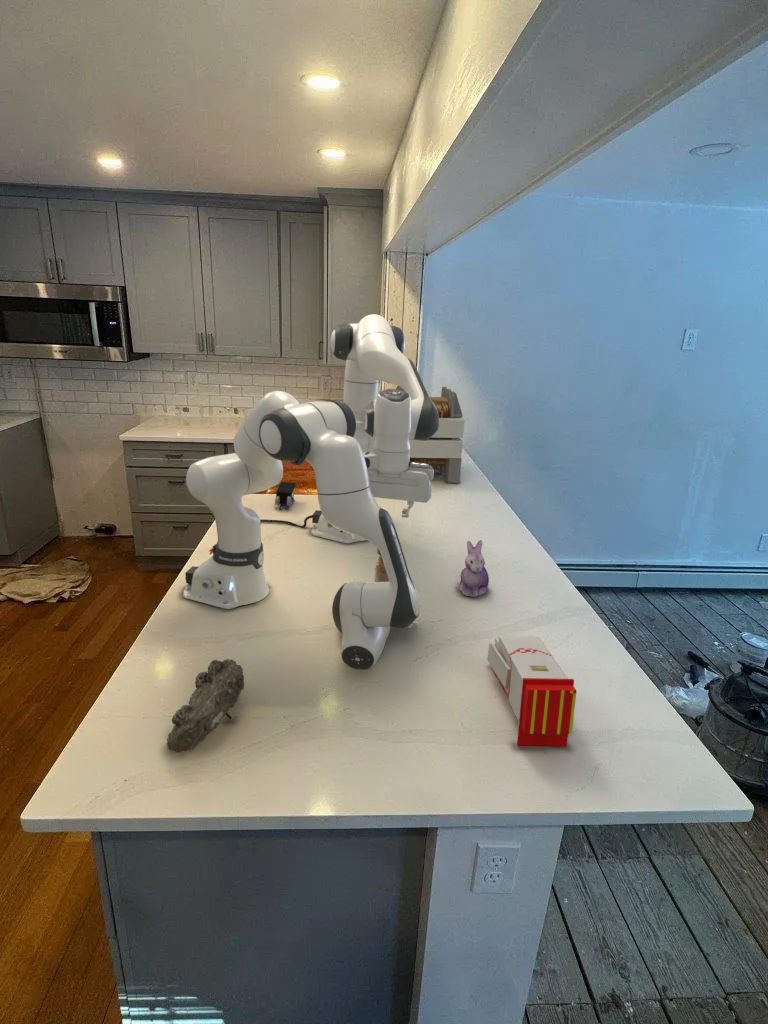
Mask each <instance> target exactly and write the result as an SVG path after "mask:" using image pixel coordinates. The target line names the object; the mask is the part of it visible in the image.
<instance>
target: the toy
mask: <svg viewBox="0 0 768 1024" xmlns="http://www.w3.org/2000/svg"><path fill="white" fill-rule="evenodd" d="M488 643H489V644H488V651H487V658H486V659H487V662H488V664H489V666H490V668H491V669H492V672H493V674H494V675H495V677H496V679H497V681H498V682H499V684H500V687H501V688H502V691H503V692H504V694H505V697H507V699H508V702H509V705H510V706H511V709H512V710H513V713H514V714H515V717H516V720H517V721H518V728H517V729H518V730H517V741H516V746H517V747H520V748H521V747H522V748H523V747H525V748H527V747H529V748H531V747H532V748H533V747H534V748H545V747H546V748H567V747H568V740H569V735H572V733H573V725H574V716H575V708H576V700H577V689H576V687H575V686H574V685H575V679H574V678H569V677H568V676H567V675H566V673H565V672H564V670H563V669H562V668H561V667H560V665H559V663H558V662H557V661H556V659H555V658H554V656H553V654H552V653H551V652H550V650H549V649H548V648H547V646H546V644H545V642H544V641H543V640H542V639H541V638H540V636H534V635H533V636H532V635H530V636H527V635H526V636H525V635H524V636H523V635H498V637H497V636H496V637H494V643H493V641H489V642H488Z"/></svg>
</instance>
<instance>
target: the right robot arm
mask: <svg viewBox="0 0 768 1024" xmlns="http://www.w3.org/2000/svg"><path fill="white" fill-rule="evenodd" d="M332 330H333V331H332V332H331V335H330V338H329V339H330V340H329V342H330V348H331V352H332V355H333V356H334V358H336V359H338V360H341V361H346V362H345V367H344V375H343V377H344V378H343V396H342V398H343V399H342V402H343V403H345V404H347V405H348V406H349V407H350V408H351V410H352V412H353V414H354V416H355V420H356V431H355V434H354V437H353V438H355V439H356V440H357V441H358V442H359V444H360V446H361V449H362V452H363V455H364V458H365V462H366V466H367V470H368V475H369V481H370V488H371V492H372V495H373V497H374V498H378V499H387V500H396V501H397V500H398V501H406V502H407V503H406V505H407V508H403V509H402V511H401V518H406V519H409V517H410V511H411V509H412V507H413V506H414V504H415V503H422V504H423V503H424V504H427V503H428V502H429V501H430V500H431V499H432V491H433V489H432V482H433V480H434V479H435V477H434V476H435V470H434V468H433V466H432V465H430V466H429V465H428V464H426V463H423V464H421V463H415V462H410V443H409V439H414V440H422V441H426V440H428V439H429V438H431V437H432V436H433V435H434V434H435V433H436V432H437V430H438V427H439V415H438V410H437V408H436V406H435V404H434V403H433V402H432V400H431V399H430V397H431V396H430V395H429V393H428V391H427V389H426V387H425V385H424V382H423V380H422V377H421V376H420V373H419V371H418V369H417V367H416V364H415V363H414V362H413V360H412V359H410V358H409V357H407V356H405V355H404V351H405V348H406V338H405V333H404V331H403V330H402V328H401V327H399V326H395V325H391V324H390V323H389V322H388V320H387V319H386V318H385V317H384V316H382V315H380V314H376V313H375V314H373V313H371V314H368V315H366V316H364V317H362V318H361V319H360V320H359V322H358V323H357V322H356V323H348V322H343V323H338V324H336V326H334V328H333V329H332ZM380 382H385V383H390V384H393V385H396V386H400V387H401V388H403V389H404V390H405V391H401V390H398V389H396V388H386V389H383V390H379V388H380V387H379V385H380ZM212 518H214V515H212ZM310 519H312V521H311V522H312V524H314V525H313V526H312V528H311V530H310V533H311V536H315V537H319V538H323V539H326V540H330V541H336V542H339V543H343V544H352V543H357V542H365V541H368V540H367V539H364V538H362V537H359V536H356V535H353V534H350V533H346V532H343V531H341V530H339V529H337V528H335V527H333V526H332V525H331V524H329V523H328V522H327V521H326V519H325V518H324V517H323V515H322V512H321V510H317V509H316V510H315V511H314V512H313V513H312V514H311V515H308V516H306V517H305V518H304V520H303V524H302V525H298V524H297V523H294V522H292V521H288V520H282V519H260V521H261V523H277V524H279V523H281V524H287V525H290V526H293V527H297V528H301V529H304V528H306V527H307V526H308V525H307V523H308V520H310Z"/></svg>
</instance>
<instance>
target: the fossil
mask: <svg viewBox="0 0 768 1024" xmlns="http://www.w3.org/2000/svg"><path fill="white" fill-rule="evenodd" d="M243 670H244V669H243V667H242V665H240V664H237V662H236V661H235V660H234V659H232V658H231V659H227V658H226V659H224V660H223V661H222V660H217V659H212V660H211V661H210V663H209V665H208V666H207V671H201V672H199V673H198V674H197V675H196V676H195V680H194V684H195V685H194V687H195V689H194V690H193V693H192V694H191V697H190V698H189V700H188V704H184V705H182V706H181V707H180V709H177V710H176V711H175V713H174V715H173V716H172V718H171V723H172V724H173V727H172V730H171V731H170V732H168V734H167V738H166V741H167V742H166V745H167V749H168V750H169V751H173V752H174V753H176V754H178V753H182V752H188V751H189V752H192V751H193V750H195V748H196V747H197V746H199V744H200V743H201V742H203V741H204V740H205V739H206V738H207V737H208V736H209V735H210V734H211V733H212V732H214V730H215V729H217V727H218V726H219V724H220V722H221V721H222V720H223V719H224V718H225V716H226V717H227V719H229V720H233V717H232V715H230V714H229V710H230V709H231V708H234V706H235V704H236V703H237V702H238V699H239V697H240V695H241V693H242V691H243V690H245V689H244V688H245V675H244V671H243Z"/></svg>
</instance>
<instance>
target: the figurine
mask: <svg viewBox="0 0 768 1024" xmlns="http://www.w3.org/2000/svg"><path fill="white" fill-rule="evenodd" d="M482 548H483V540H482V539H479V540H478V541H477V543H476V544H475V546H474V544H473V543H472V542H471V541H470V540H467V542H466V550H467V555H466V557H465V559H464V565H465V566H464V568H463V569H462V570H461V572H460V581H459V590H460V591H461V593H462V595H463V596H466V597H472V598H473V597H474V598H477V597H478V596H483V595H484V594H485V593H486V592H487V590H488V586H489V583H490V577H489V573H488V571H487V568H486V567H485V565H486V561H485V558H484V556H483V553H482Z"/></svg>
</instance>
